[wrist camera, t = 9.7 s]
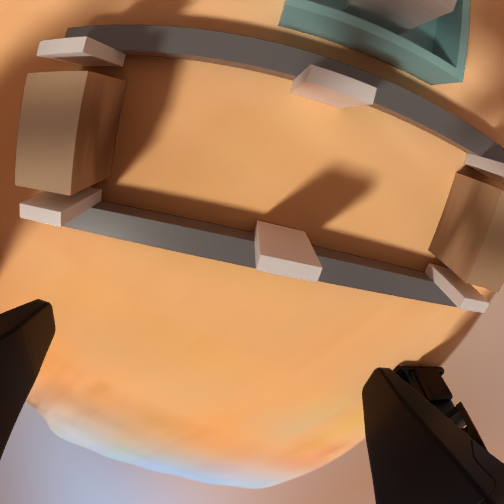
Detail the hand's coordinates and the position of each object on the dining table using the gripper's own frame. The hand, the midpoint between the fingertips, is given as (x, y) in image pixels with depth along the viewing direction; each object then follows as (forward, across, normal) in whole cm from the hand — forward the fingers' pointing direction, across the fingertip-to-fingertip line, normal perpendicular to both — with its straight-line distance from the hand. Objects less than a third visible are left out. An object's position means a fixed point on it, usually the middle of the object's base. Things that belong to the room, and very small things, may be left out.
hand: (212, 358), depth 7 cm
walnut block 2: (+12, -16, -4) cm, 20 cm away
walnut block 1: (+12, +10, -4) cm, 16 cm away
